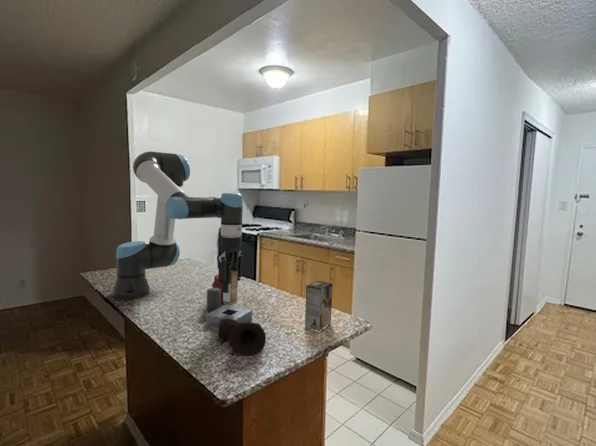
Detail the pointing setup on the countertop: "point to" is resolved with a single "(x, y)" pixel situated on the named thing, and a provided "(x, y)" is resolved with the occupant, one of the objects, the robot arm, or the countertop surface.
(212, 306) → the gray capsule
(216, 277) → the mechanical component
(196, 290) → the countertop surface
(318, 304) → the coffee box
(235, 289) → the oak peg
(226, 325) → the pipe
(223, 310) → the socket block
